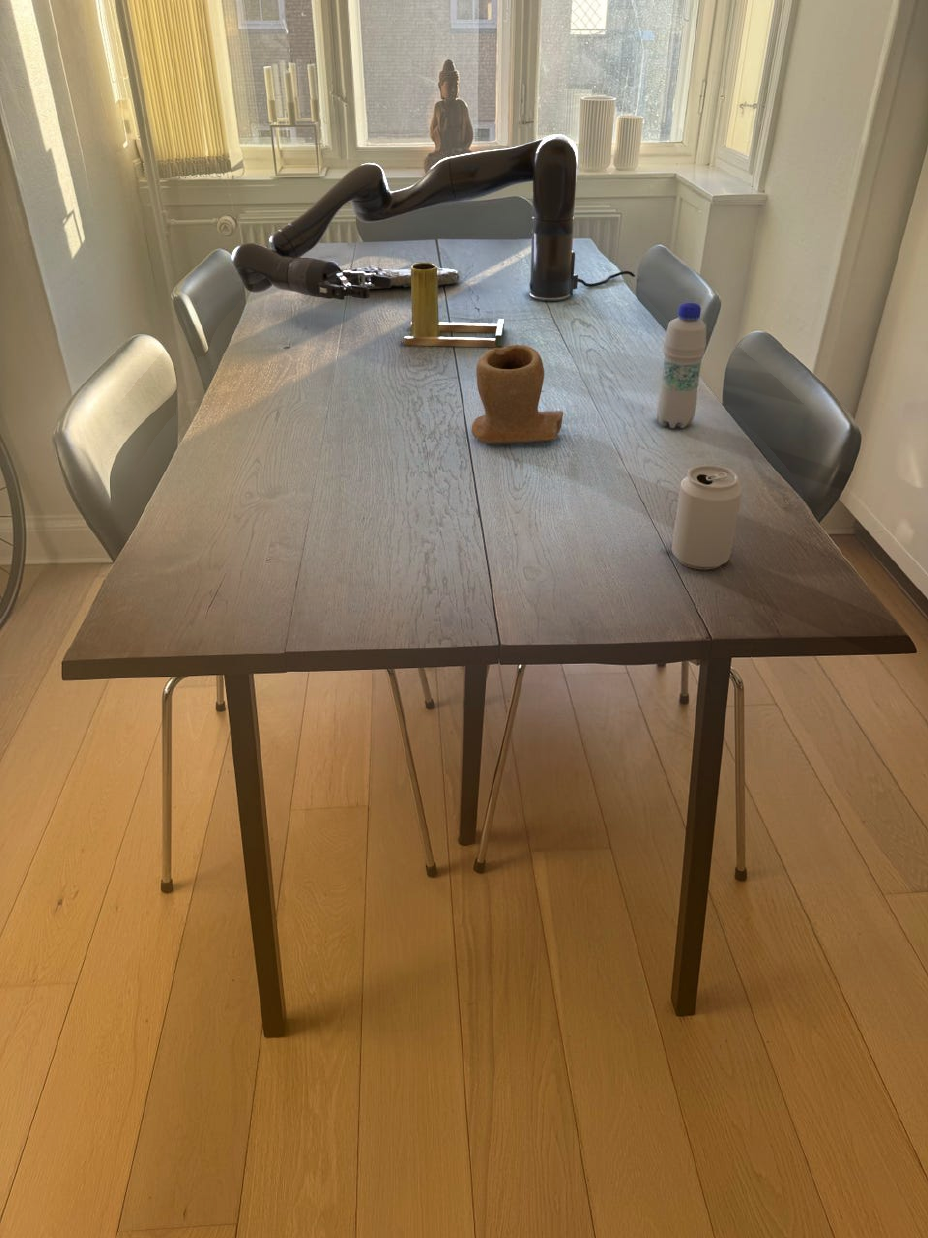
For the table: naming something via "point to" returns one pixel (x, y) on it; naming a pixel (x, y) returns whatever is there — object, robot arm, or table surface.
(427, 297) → the vase
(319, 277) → the robot arm
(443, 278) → the long grey stone
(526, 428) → the clay pipe
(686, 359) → the bottle
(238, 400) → the table surface
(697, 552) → the can
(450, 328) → the u-shaped frame
